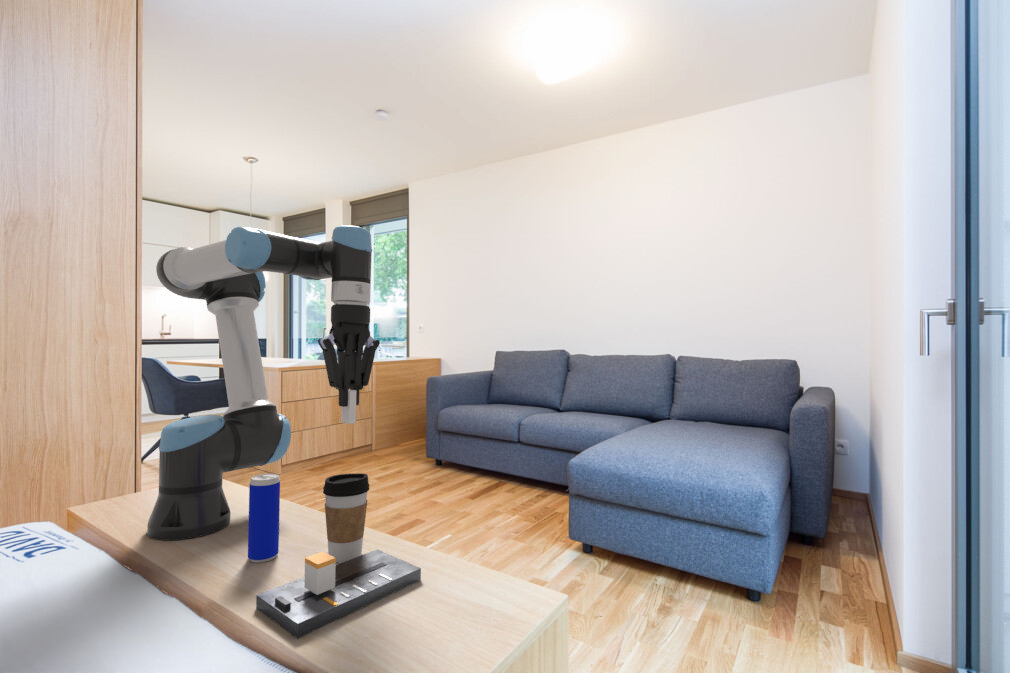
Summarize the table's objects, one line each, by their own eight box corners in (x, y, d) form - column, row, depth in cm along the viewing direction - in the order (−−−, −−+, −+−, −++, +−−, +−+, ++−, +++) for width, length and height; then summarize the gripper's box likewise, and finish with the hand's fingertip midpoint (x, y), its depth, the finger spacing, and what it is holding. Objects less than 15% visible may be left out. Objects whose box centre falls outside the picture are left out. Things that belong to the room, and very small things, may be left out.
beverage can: (284, 555, 93) (286, 475, 93) (260, 565, 88) (262, 481, 88) (265, 549, 95) (267, 472, 95) (241, 560, 90) (243, 478, 91)
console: (256, 608, 74) (256, 589, 74) (377, 560, 91) (377, 544, 91) (297, 638, 66) (297, 617, 66) (420, 580, 83) (420, 563, 84)
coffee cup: (354, 568, 88) (356, 483, 88) (312, 563, 89) (313, 480, 90) (376, 549, 96) (377, 472, 96) (336, 545, 98) (338, 469, 98)
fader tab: (304, 587, 75) (305, 557, 75) (322, 580, 78) (322, 551, 78) (317, 594, 73) (317, 564, 73) (335, 587, 75) (335, 557, 76)
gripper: (332, 301, 91) (329, 428, 90) (389, 306, 101) (386, 421, 100) (310, 303, 96) (307, 424, 95) (367, 307, 106) (364, 417, 105)
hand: (348, 422), depth 98 cm, fingers closed
